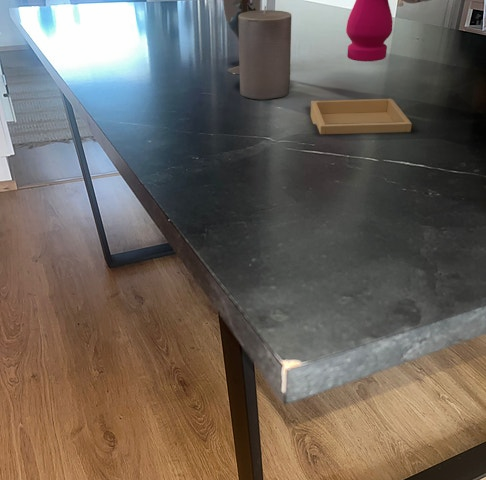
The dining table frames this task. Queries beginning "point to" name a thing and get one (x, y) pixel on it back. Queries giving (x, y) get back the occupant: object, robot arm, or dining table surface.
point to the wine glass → (233, 5)
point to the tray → (358, 116)
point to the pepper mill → (369, 30)
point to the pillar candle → (264, 53)
